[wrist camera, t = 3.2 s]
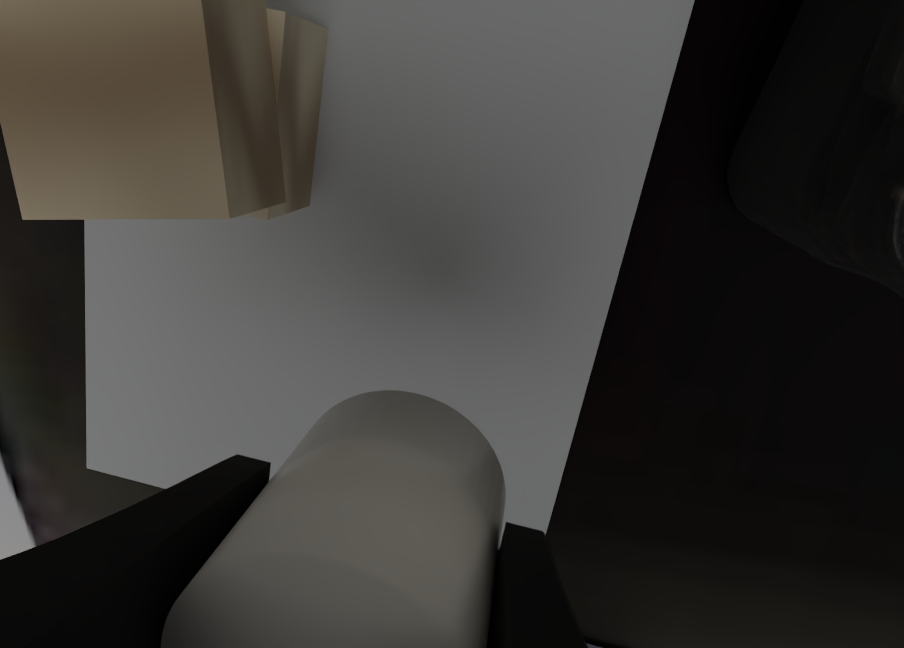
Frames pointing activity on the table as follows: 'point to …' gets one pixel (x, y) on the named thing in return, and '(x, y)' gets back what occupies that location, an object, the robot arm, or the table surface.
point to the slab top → (139, 108)
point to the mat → (398, 246)
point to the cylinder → (359, 539)
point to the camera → (831, 139)
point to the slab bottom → (296, 103)
